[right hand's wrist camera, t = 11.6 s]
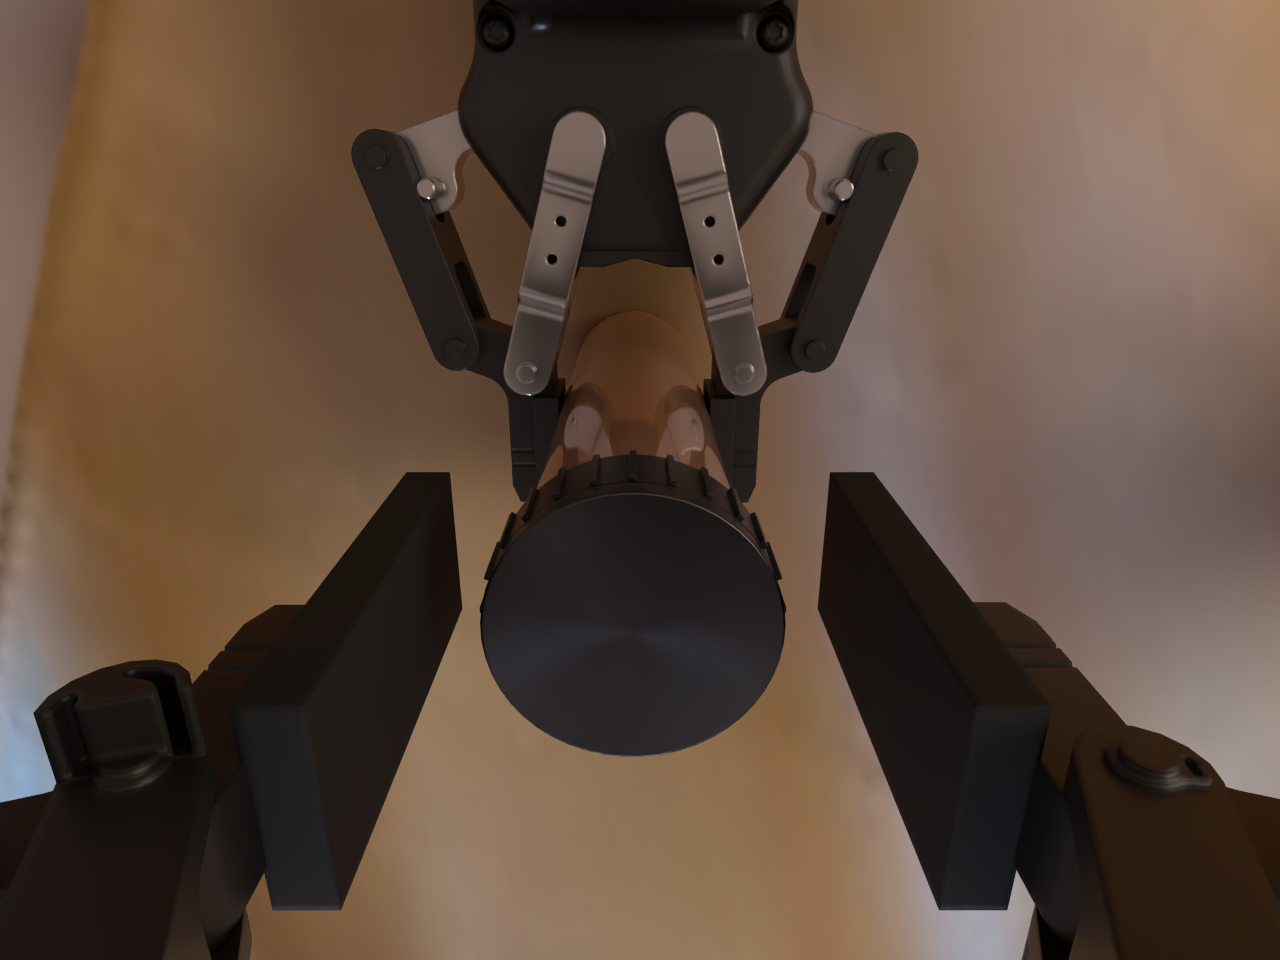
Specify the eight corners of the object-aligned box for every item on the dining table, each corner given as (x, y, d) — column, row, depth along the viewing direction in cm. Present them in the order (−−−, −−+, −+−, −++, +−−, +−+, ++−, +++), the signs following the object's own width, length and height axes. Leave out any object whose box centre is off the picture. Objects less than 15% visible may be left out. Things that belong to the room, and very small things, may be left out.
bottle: (590, 432, 29) (535, 743, 13) (566, 322, 28) (472, 523, 12) (700, 412, 29) (780, 705, 13) (681, 300, 27) (744, 475, 12)
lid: (529, 717, 14) (517, 782, 13) (460, 476, 13) (437, 518, 11) (788, 675, 14) (807, 737, 13) (752, 424, 13) (768, 460, 11)
